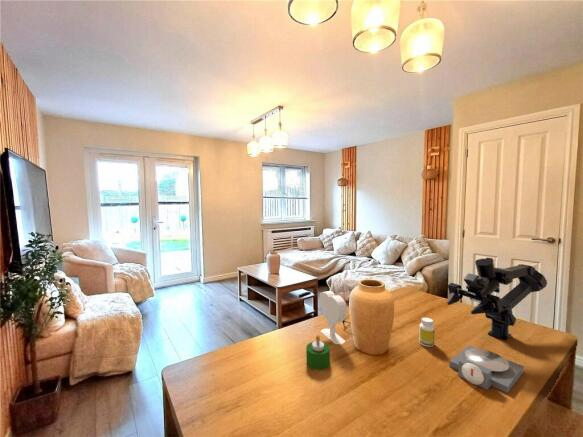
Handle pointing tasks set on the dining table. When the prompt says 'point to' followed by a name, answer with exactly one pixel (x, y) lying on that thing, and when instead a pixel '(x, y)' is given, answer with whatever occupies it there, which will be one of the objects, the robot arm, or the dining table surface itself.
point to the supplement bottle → (426, 332)
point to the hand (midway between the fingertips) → (459, 308)
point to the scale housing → (486, 373)
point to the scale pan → (487, 359)
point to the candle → (318, 354)
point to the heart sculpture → (333, 314)
